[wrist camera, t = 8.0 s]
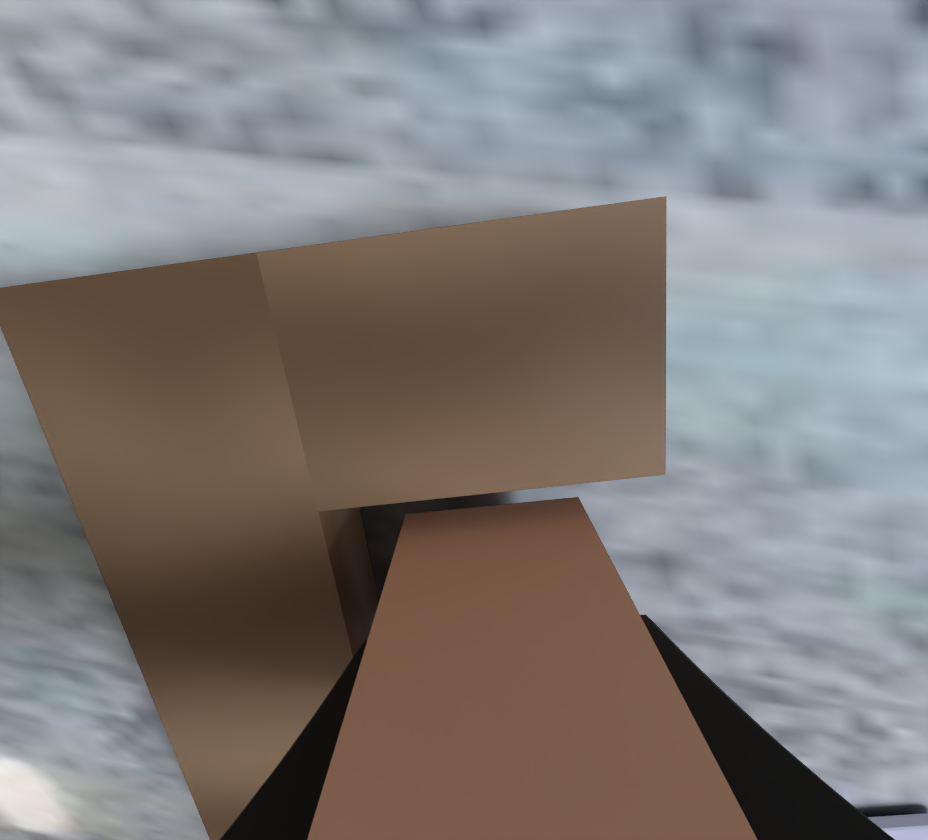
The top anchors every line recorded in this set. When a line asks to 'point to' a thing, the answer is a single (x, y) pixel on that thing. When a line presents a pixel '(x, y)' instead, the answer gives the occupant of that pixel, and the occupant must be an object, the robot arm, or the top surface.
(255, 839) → the robot arm
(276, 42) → the top surface
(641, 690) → the terracotta block
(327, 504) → the notched board
